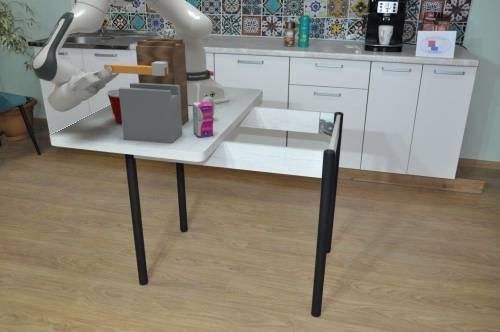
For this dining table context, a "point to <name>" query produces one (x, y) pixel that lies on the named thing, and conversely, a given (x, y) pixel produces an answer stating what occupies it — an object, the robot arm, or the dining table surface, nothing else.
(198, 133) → the supplement box
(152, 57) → the walnut post
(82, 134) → the dining table surface
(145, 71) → the orange squared block
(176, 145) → the dining table surface
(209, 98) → the donut
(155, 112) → the block
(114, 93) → the plastic cup
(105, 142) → the dining table surface
